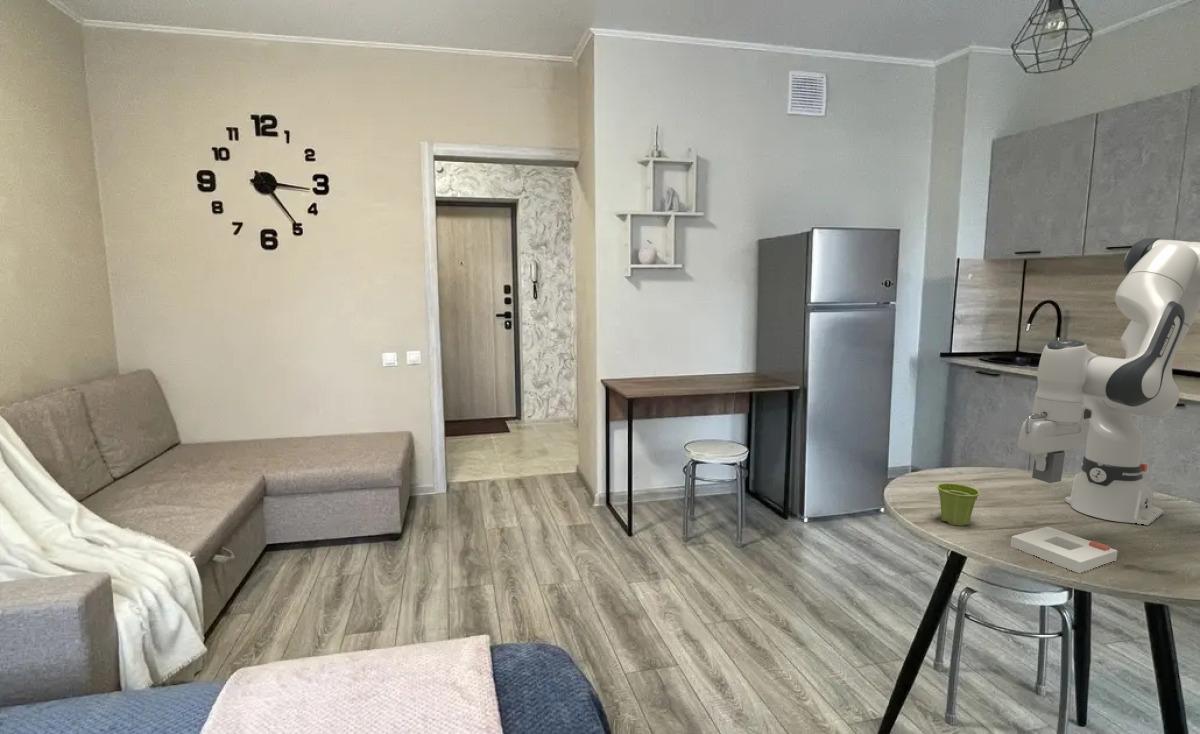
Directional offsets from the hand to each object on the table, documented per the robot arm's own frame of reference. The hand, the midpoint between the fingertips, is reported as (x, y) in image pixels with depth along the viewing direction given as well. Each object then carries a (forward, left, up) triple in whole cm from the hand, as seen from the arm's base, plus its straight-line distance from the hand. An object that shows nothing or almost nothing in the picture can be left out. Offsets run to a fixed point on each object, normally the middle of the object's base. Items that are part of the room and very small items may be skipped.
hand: (1048, 468), depth 139 cm
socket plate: (+3, +6, -18) cm, 19 cm away
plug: (0, 0, -3) cm, 3 cm away
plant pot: (+8, -16, -18) cm, 25 cm away
